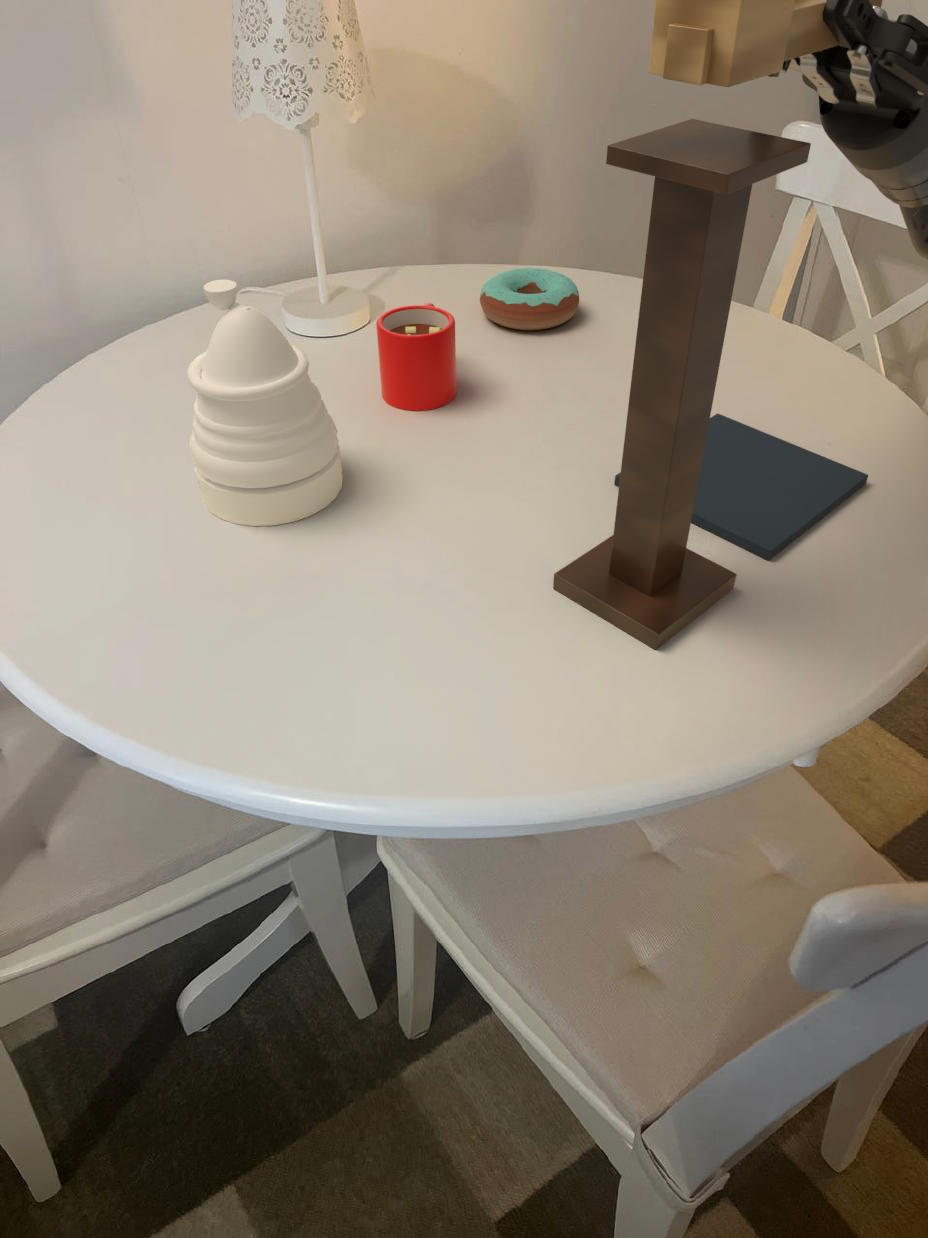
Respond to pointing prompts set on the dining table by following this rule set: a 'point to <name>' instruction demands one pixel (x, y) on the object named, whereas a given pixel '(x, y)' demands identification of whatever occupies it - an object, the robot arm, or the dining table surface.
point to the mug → (417, 357)
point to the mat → (764, 487)
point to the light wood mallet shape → (734, 38)
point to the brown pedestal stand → (675, 373)
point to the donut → (529, 299)
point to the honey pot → (259, 422)
